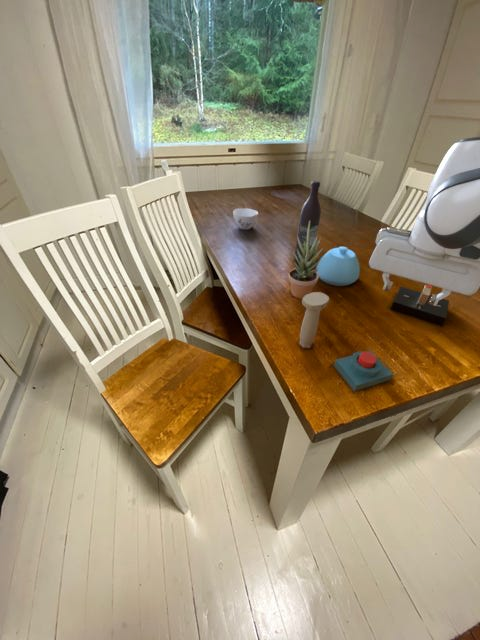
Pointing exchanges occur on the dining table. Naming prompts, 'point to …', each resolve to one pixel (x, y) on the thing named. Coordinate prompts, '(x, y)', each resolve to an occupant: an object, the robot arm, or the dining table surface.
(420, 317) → the rod panel
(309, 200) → the wine bottle
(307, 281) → the potted plant
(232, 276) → the dining table surface
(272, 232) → the dining table surface
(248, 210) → the teacup
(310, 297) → the handle
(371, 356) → the red button
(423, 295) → the turn handle
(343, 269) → the sugar bowl
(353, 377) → the button block
